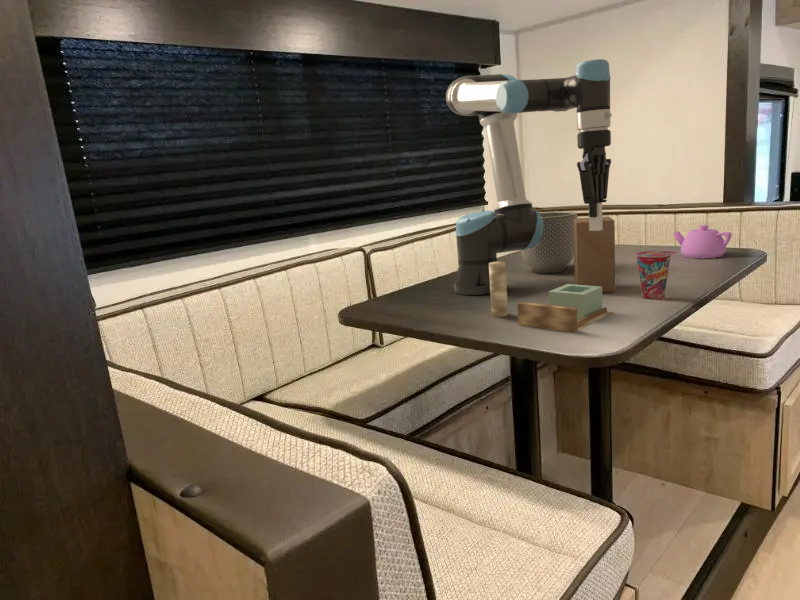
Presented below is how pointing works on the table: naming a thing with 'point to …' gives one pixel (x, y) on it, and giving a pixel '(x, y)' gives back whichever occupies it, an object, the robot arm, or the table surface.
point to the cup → (653, 273)
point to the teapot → (703, 243)
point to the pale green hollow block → (577, 298)
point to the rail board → (555, 317)
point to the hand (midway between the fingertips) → (595, 230)
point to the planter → (553, 243)
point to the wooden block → (594, 254)
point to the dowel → (498, 289)
